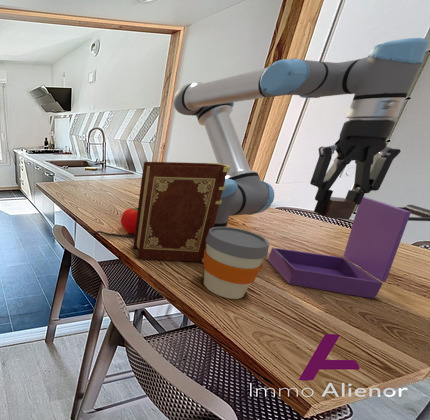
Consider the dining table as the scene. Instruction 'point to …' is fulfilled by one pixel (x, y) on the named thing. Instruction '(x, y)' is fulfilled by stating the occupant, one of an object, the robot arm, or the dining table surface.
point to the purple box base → (324, 272)
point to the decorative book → (177, 209)
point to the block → (339, 208)
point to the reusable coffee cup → (232, 260)
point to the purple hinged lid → (379, 235)
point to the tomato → (129, 220)
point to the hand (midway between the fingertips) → (331, 214)
